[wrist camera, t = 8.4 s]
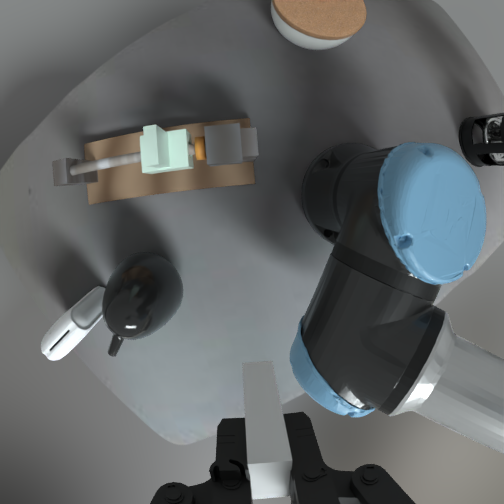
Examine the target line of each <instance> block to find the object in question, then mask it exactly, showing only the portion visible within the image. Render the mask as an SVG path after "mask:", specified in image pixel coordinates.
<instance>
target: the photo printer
mask: <svg viewBox="0 0 504 504" xmlns="http://www.w3.org/2000/svg"><path fill="white" fill-rule="evenodd" d="M104 291H105V288H103V287H100V286H98V287H96V288H94V289H92V290H91V291H90V292H89V293H87V295H85V296H84V297H83V298H82V299H81V300H80V301H78V302H77V303H76V304H75V305H74V306H73V307H71V308H70V309H69V310H68V311H67V312H65V313H64V314H63V315H62V316H61V317H60V318H59V319H58V320H57V321H56V322H55V323H54V324H53V326H52V327H51V328H50V329H49V330H48V331H47V333H46V334H45V336H44V338H43V340H42V343H41V350H42V353H43V354H45V355H46V357H47V358H48V359H49V360H59V359H61V358H62V357H64V356H65V355H66V354H67V353H69V352H70V351H71V350H72V349H73V348H74V347H75V346H76V345H77V344H78V343H79V342H80V341H81V340H82V339H83V338H84V337H85V336H86V334H87V333H88V332H89V331H90V330H91V329H92V328H93V326H94V325H95V324H96V323H97V322H98V321H99V320H100V319H101V318H102V316H103V315H102V299H103V295H104Z"/></svg>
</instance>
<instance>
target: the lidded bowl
mask: <svg viewBox="0 0 504 504" xmlns="http://www.w3.org/2000/svg"><path fill="white" fill-rule="evenodd" d="M271 15H272V19H273V22H274V24H275V26H276V28H277V29H278V31H279V32H280V33H281V34H282V35H283V36H284V37H285V38H286V39H287V40H288V41H290V42H292V43H293V44H295V45H297V46H300V47H303V48H306V49H311V50H325V49H330V48H333V47H336V46H338V45H340V44H342V43H344V42H345V41H347V40H348V39H349V38H350V37H351V36H353V35H354V34H355V33H356V32H357V31H359V30H360V28H361V27H362V26H363V24H364V22H365V20H366V7H365V4H364V1H363V0H271Z"/></svg>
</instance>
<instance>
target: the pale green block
mask: <svg viewBox="0 0 504 504" xmlns="http://www.w3.org/2000/svg"><path fill="white" fill-rule="evenodd" d="M143 134H144V135H143V136H140V150H141V164H142V173H148V174H155V173H161V172H169V171H176V170H184V169H192V168H194V165H193V155H189V146H188V144H192V139H191V134H190V133H189V132H188V131H187V130H186V129H180V130H173V131H167V132H166V131H164V130H163V129H162V128H160V127H159V126H157V125H150V126H145V127H143Z"/></svg>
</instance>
